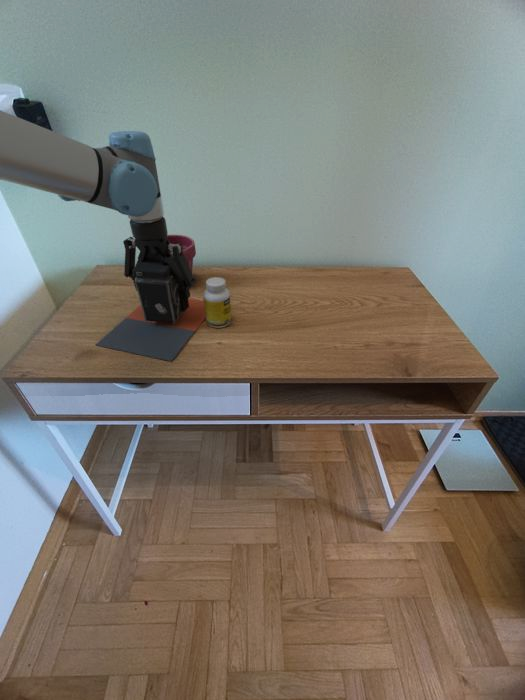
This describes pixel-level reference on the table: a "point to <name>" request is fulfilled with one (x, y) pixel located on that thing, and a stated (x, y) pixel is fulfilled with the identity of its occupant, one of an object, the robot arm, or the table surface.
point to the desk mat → (155, 333)
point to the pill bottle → (217, 303)
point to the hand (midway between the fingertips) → (165, 305)
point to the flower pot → (184, 247)
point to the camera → (157, 291)
